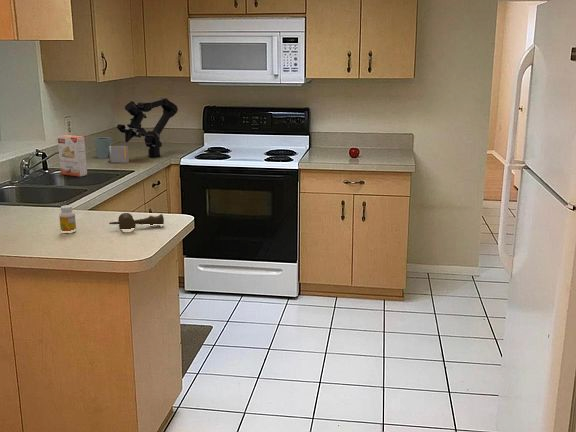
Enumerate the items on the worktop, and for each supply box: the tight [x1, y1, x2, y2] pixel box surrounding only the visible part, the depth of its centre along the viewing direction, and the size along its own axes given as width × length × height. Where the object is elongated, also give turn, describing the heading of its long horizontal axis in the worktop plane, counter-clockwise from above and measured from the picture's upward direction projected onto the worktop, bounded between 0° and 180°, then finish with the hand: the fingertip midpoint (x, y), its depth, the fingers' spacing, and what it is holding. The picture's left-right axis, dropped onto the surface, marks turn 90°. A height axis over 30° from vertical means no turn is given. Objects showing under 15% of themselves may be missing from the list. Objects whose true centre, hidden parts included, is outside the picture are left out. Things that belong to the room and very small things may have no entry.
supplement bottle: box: [58, 204, 77, 231], centre depth 230 cm, size 5×5×10 cm
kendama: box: [108, 212, 165, 230], centre depth 236 cm, size 6×10×20 cm
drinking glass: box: [93, 136, 112, 160], centre depth 391 cm, size 10×10×12 cm
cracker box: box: [57, 134, 88, 178], centre depth 335 cm, size 14×6×21 cm, turn 62°
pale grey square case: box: [110, 145, 129, 164], centre depth 372 cm, size 10×2×10 cm, turn 91°
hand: (126, 142), depth 373 cm, fingers closed
